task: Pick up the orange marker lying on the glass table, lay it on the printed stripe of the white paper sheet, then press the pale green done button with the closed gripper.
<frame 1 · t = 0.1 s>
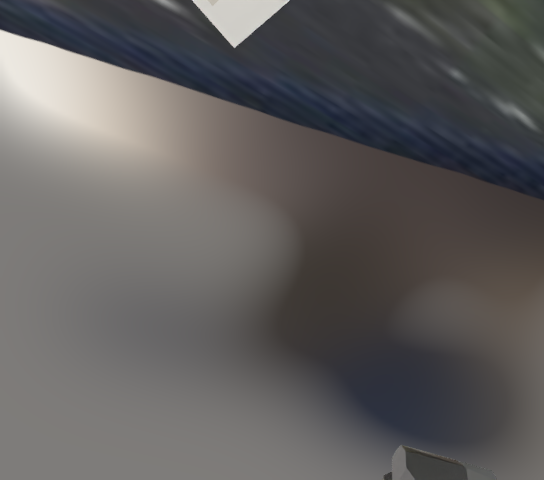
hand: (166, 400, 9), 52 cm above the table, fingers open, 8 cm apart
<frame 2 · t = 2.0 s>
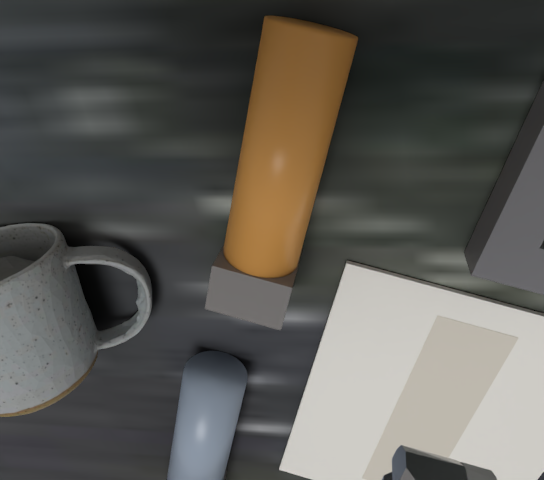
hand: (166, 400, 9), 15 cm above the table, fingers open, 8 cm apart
marker blue: (212, 411, 31), on the table
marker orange: (289, 142, 22), on the table
ceramic mug: (72, 275, 28), on the table
paper: (430, 412, 28), on the table
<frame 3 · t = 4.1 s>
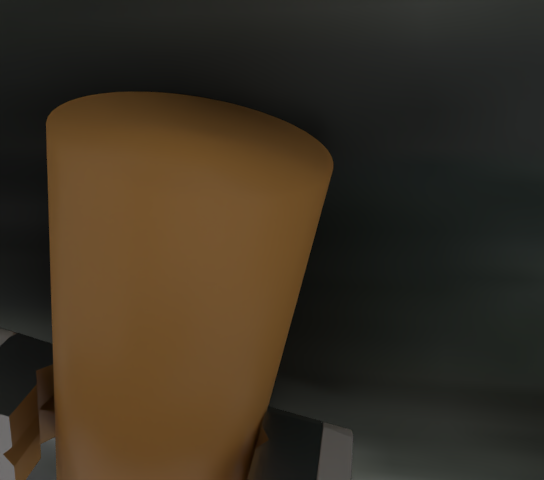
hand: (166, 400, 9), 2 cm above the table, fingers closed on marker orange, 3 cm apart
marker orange: (195, 343, 10), on the table, touching gripper
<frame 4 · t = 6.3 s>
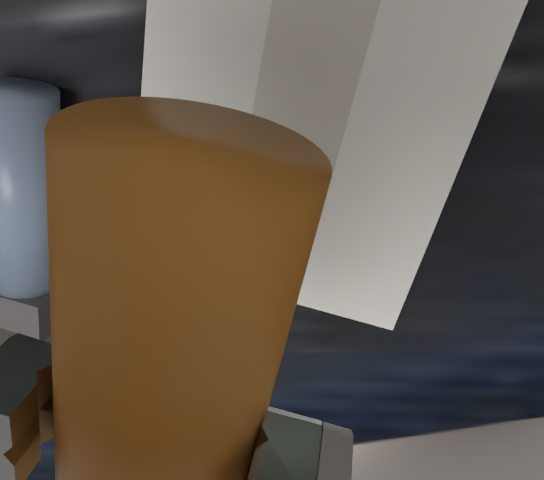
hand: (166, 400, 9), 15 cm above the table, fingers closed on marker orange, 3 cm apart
marker blue: (43, 179, 25), on the table
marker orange: (194, 347, 10), point 14 cm above the table, touching gripper
paper: (293, 145, 22), on the table
when the fingers open (3 cm above the table, at t = 8.7 s): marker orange drops 1 cm, resting on paper.
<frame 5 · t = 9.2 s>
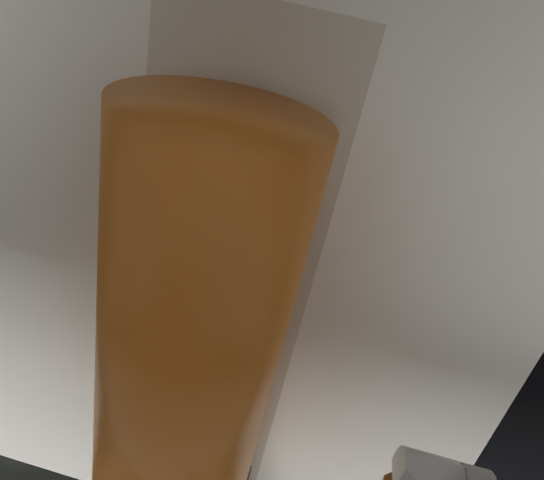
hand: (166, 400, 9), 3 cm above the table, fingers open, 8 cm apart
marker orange: (213, 305, 11), resting on paper
paper: (218, 298, 12), on the table
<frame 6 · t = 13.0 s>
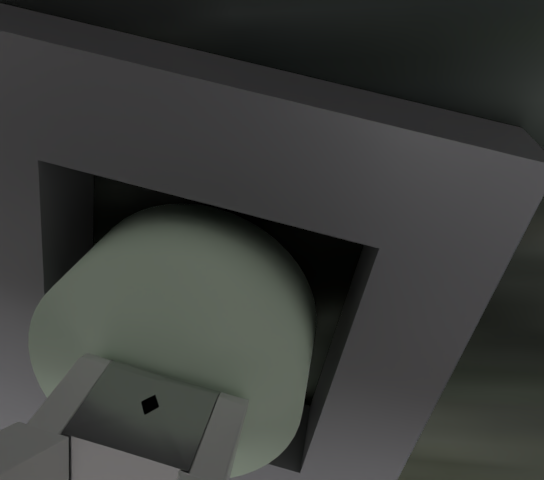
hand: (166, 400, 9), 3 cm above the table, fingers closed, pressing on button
button base: (214, 282, 12), on the table
button: (182, 344, 10), point 2 cm above the table, slide at 0.7 cm, touching gripper
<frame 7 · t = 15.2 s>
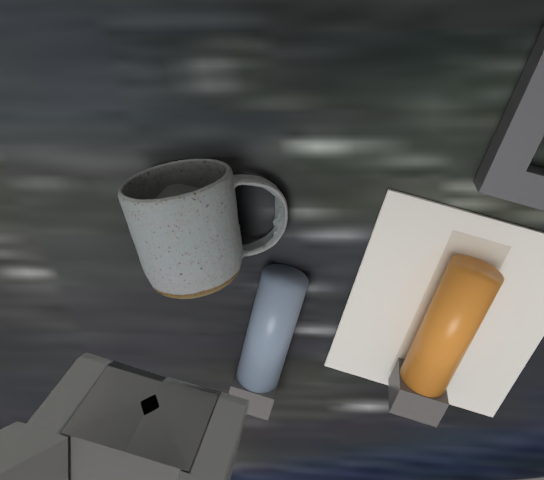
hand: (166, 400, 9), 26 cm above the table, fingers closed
marker blue: (274, 317, 40), on the table
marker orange: (445, 313, 37), resting on paper
ceramic mug: (219, 202, 37), on the table
paper: (444, 311, 37), on the table
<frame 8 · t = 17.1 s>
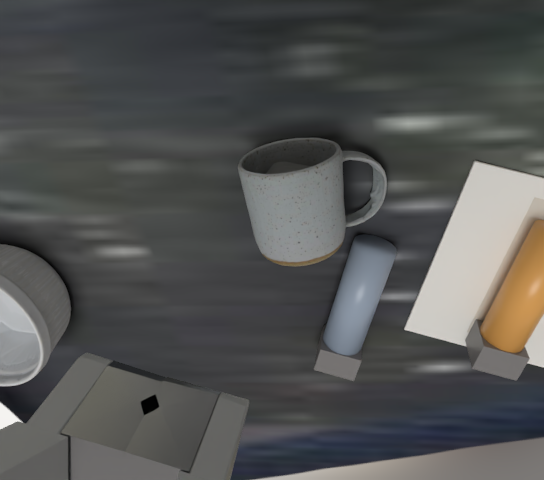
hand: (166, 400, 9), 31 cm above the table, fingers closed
marker blue: (358, 285, 43), on the table
ramekin: (23, 288, 51), on the table
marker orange: (522, 276, 40), resting on paper
ceramic mug: (317, 178, 40), on the table
paper: (521, 274, 40), on the table
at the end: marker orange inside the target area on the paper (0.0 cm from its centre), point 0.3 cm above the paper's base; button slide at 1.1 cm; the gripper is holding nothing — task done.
